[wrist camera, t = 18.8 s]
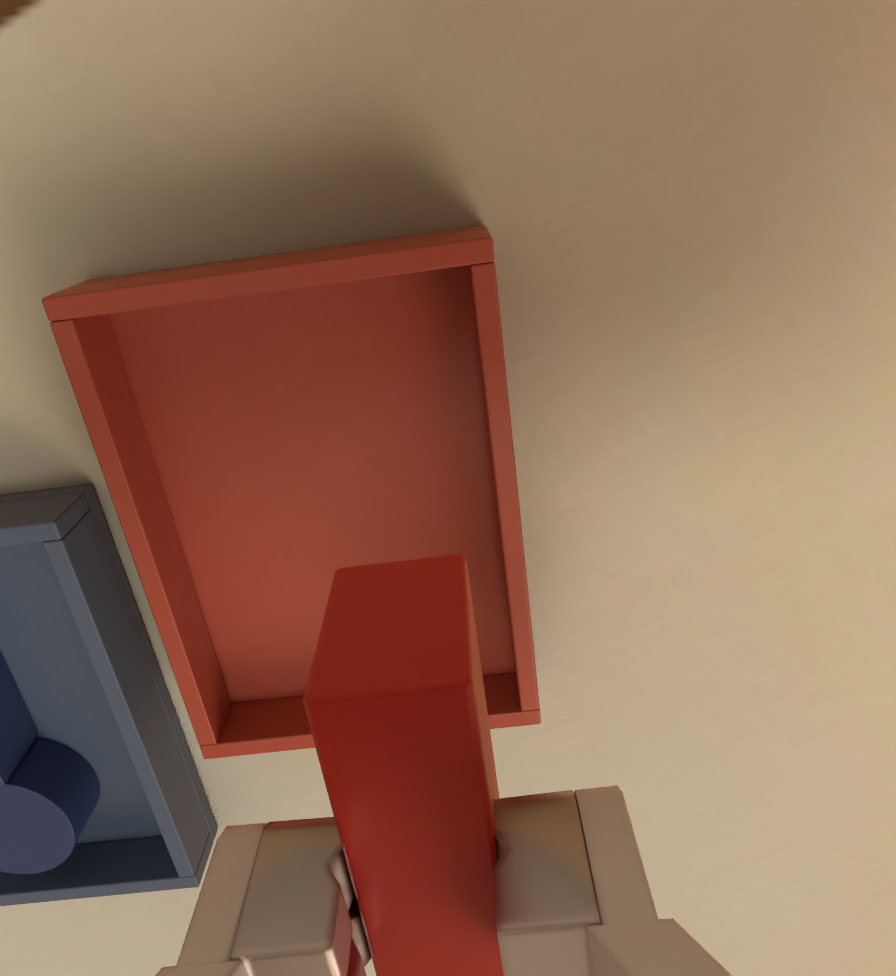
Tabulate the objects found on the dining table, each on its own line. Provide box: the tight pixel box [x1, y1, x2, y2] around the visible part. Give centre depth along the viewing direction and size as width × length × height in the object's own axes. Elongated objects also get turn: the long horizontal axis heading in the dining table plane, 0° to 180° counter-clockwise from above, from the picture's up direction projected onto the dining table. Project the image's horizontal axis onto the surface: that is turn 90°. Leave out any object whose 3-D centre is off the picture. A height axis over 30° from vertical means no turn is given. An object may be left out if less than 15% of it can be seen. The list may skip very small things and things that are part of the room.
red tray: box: [42, 226, 541, 759], centre depth 23 cm, size 15×11×3 cm
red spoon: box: [303, 554, 504, 976], centre depth 10 cm, size 11×4×2 cm, turn 7°
